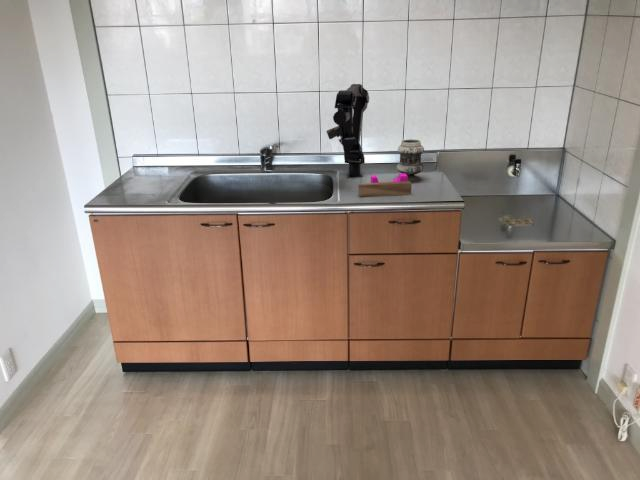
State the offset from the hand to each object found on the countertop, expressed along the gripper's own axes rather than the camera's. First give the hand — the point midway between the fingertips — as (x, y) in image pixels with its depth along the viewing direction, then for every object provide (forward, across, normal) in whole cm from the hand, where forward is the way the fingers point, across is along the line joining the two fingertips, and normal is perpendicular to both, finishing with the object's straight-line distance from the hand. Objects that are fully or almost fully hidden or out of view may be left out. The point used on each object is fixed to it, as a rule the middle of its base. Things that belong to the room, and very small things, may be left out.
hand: (346, 156), depth 225 cm
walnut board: (+13, +17, +14) cm, 26 cm away
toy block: (+13, +12, +16) cm, 25 cm away
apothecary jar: (+13, -3, +30) cm, 33 cm away
